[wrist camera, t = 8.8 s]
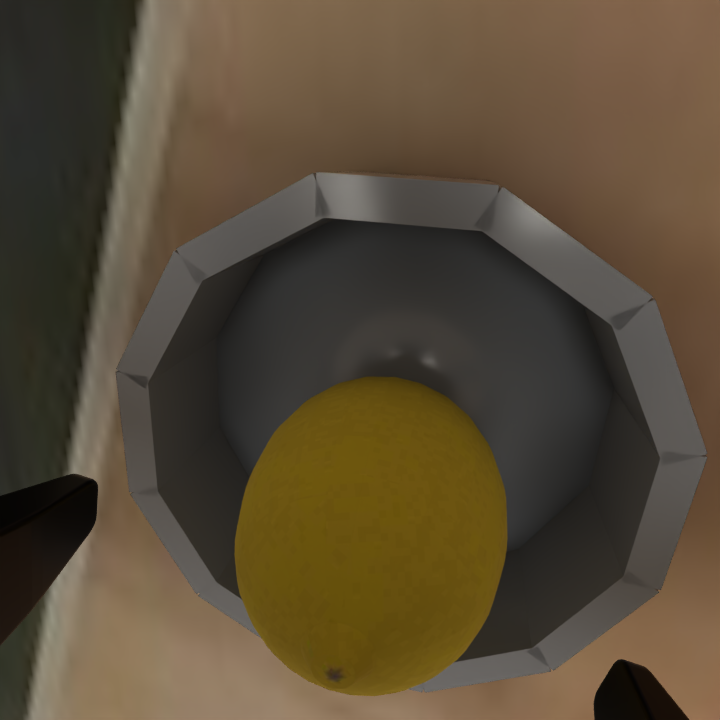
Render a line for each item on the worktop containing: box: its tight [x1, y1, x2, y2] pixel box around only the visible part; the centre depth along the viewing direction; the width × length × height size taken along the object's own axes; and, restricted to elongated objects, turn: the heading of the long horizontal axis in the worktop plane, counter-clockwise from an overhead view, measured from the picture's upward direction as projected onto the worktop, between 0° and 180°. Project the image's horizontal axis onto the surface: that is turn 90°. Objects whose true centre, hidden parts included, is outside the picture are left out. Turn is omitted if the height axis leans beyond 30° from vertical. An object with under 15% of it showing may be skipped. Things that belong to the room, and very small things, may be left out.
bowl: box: [116, 172, 707, 692], centre depth 14 cm, size 13×13×4 cm
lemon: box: [235, 377, 508, 696], centre depth 11 cm, size 6×6×8 cm
